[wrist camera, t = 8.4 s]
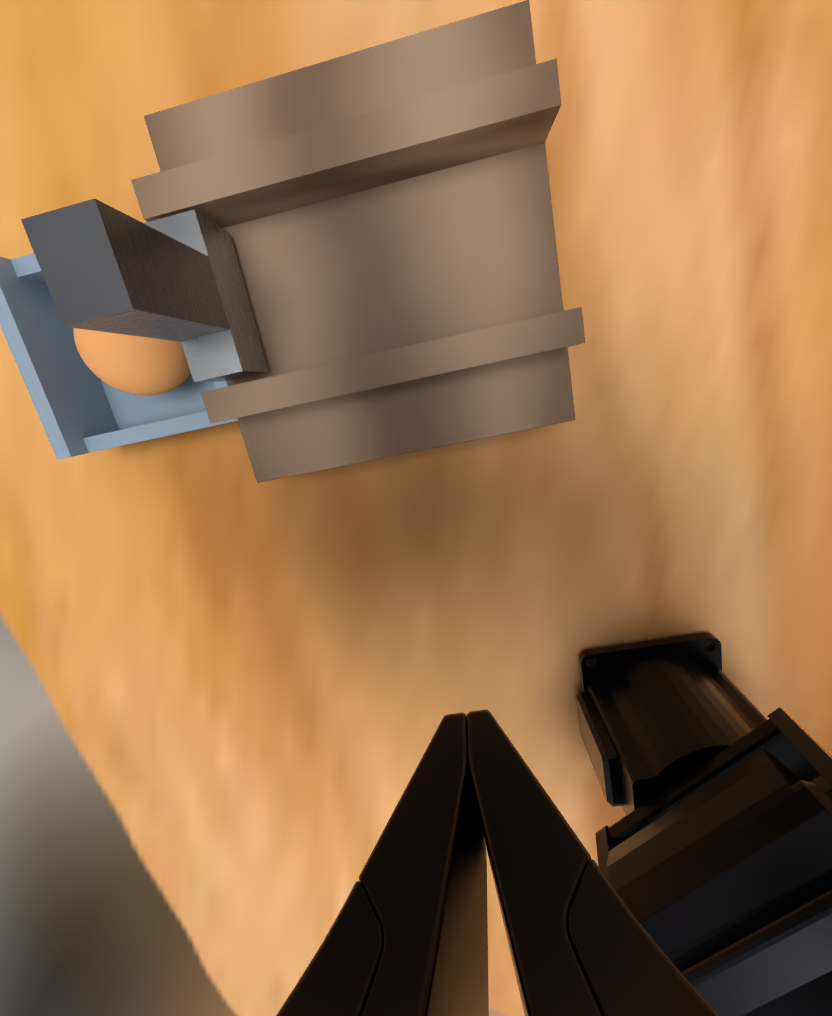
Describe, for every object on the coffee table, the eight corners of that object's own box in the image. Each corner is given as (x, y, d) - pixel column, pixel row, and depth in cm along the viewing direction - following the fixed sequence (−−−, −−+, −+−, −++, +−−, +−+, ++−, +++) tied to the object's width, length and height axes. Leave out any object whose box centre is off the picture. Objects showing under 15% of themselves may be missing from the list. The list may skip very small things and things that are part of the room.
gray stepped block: (230, 233, 15) (68, 125, 8) (269, 371, 16) (154, 369, 10) (184, 245, 15) (-7, 149, 9) (226, 381, 16) (85, 384, 10)
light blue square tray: (213, 235, 18) (162, 204, 15) (265, 414, 20) (230, 422, 17) (54, 278, 19) (-29, 257, 16) (119, 446, 21) (57, 459, 18)
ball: (164, 297, 19) (190, 266, 16) (195, 392, 20) (225, 379, 17) (51, 302, 17) (56, 267, 14) (92, 409, 18) (106, 397, 15)
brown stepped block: (511, 77, 16) (543, -67, 11) (552, 412, 19) (593, 425, 14) (200, 165, 18) (97, 75, 12) (287, 465, 21) (234, 496, 15)
